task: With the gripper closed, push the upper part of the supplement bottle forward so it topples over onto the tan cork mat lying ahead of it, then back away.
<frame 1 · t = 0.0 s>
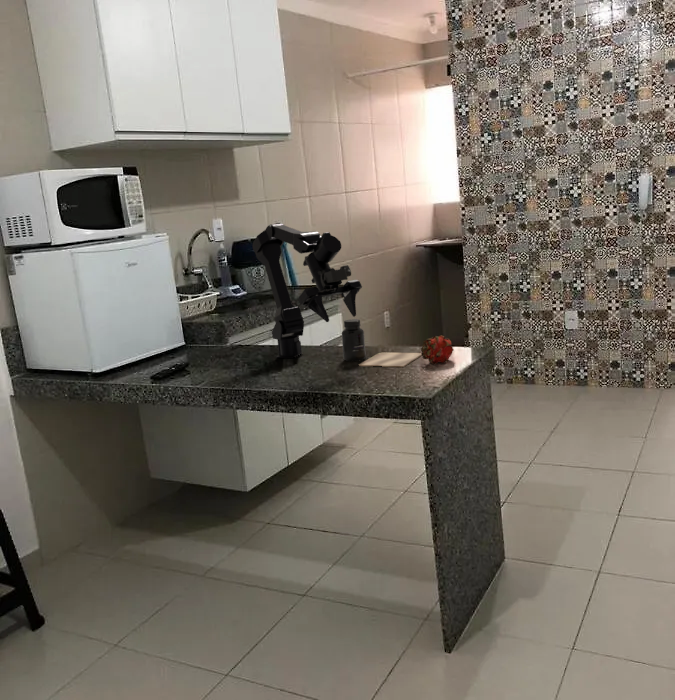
hand: (341, 318, 210), 15 cm above the counter, tool tilted 35°, fingers open, 9 cm apart
dragon fruit: (438, 363, 212), on the counter
supplement bottle: (354, 360, 226), on the counter
cork mat: (391, 360, 220), on the counter
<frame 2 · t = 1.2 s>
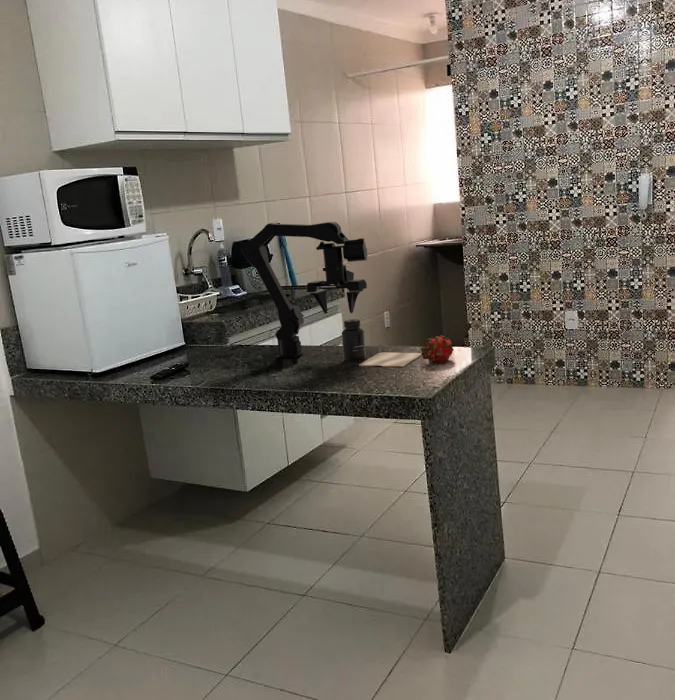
hand: (338, 313, 232), 13 cm above the counter, tool pointing down, fingers open, 9 cm apart
nothing on the counter moved.
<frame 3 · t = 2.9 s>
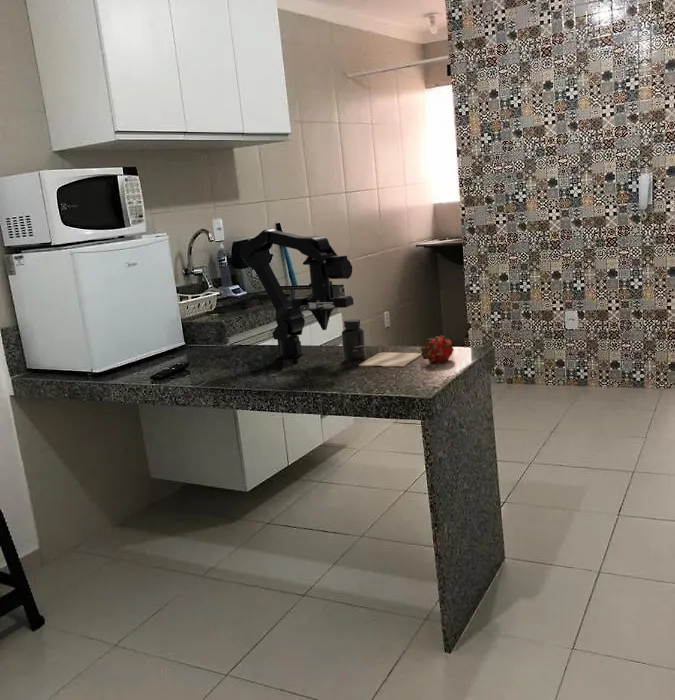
hand: (324, 329, 228), 9 cm above the counter, tool pointing down, fingers closed
nothing on the counter moved.
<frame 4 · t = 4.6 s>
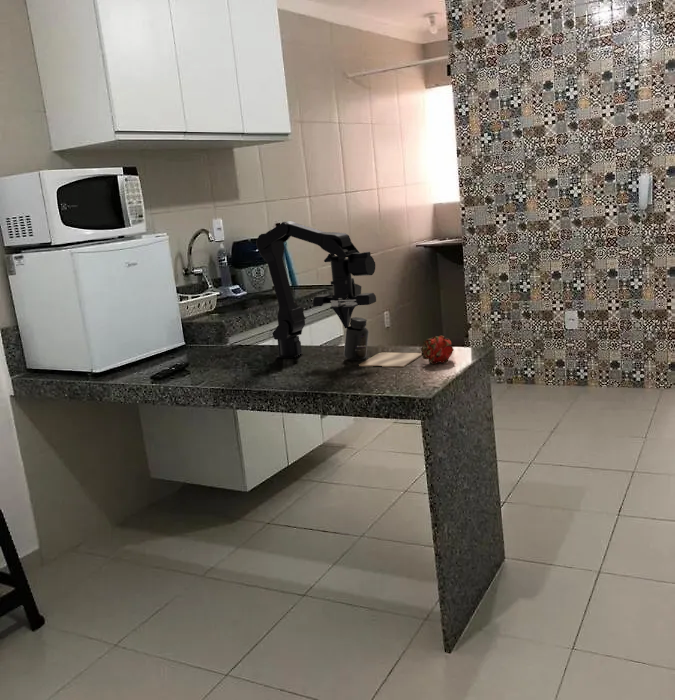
hand: (346, 328, 224), 10 cm above the counter, tool pointing down, fingers closed, pressing on supplement bottle
supplement bottle: (354, 358, 226), on the counter, touching gripper
everything else where it was.
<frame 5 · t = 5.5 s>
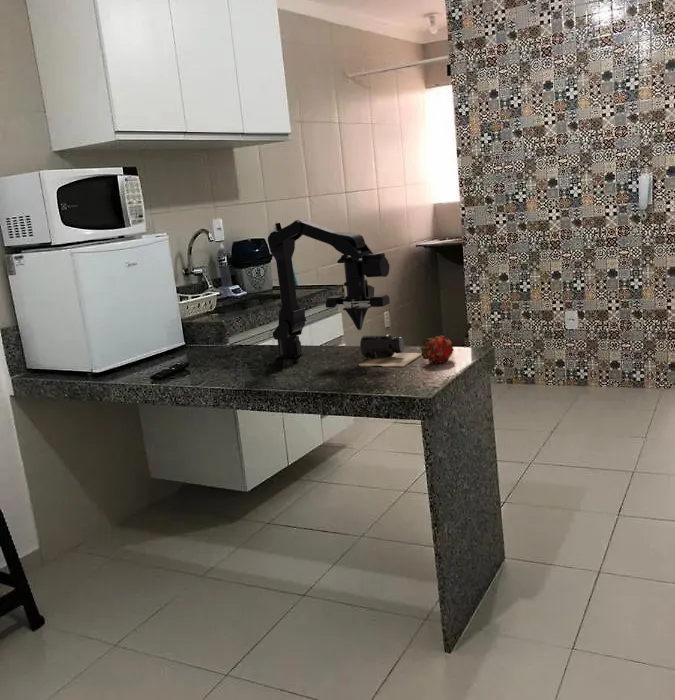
hand: (359, 329, 223), 9 cm above the counter, tool pointing down, fingers closed
supplement bottle: (363, 347, 224), point 4 cm above the counter, touching cork mat
everything else where it was.
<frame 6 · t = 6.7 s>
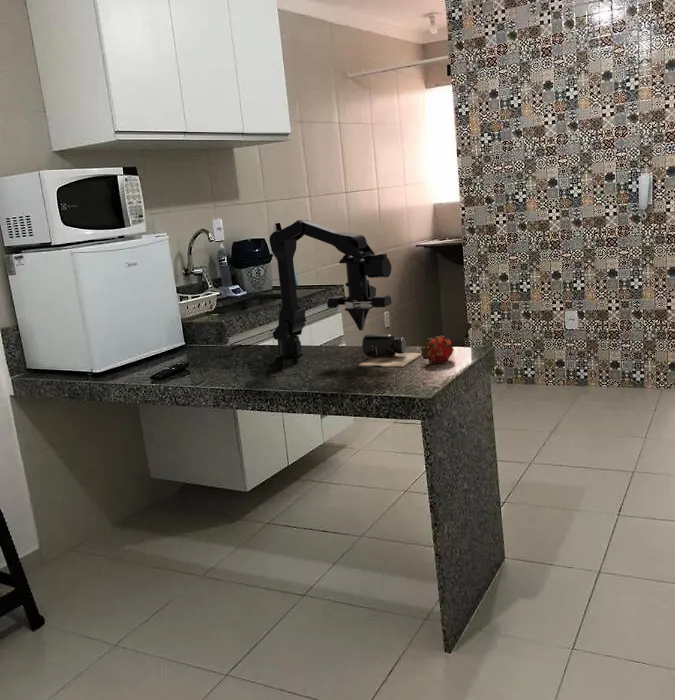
hand: (361, 330, 222), 9 cm above the counter, tool pointing down, fingers closed
supplement bottle: (364, 345, 225), point 4 cm above the counter, touching cork mat
everything else where it was.
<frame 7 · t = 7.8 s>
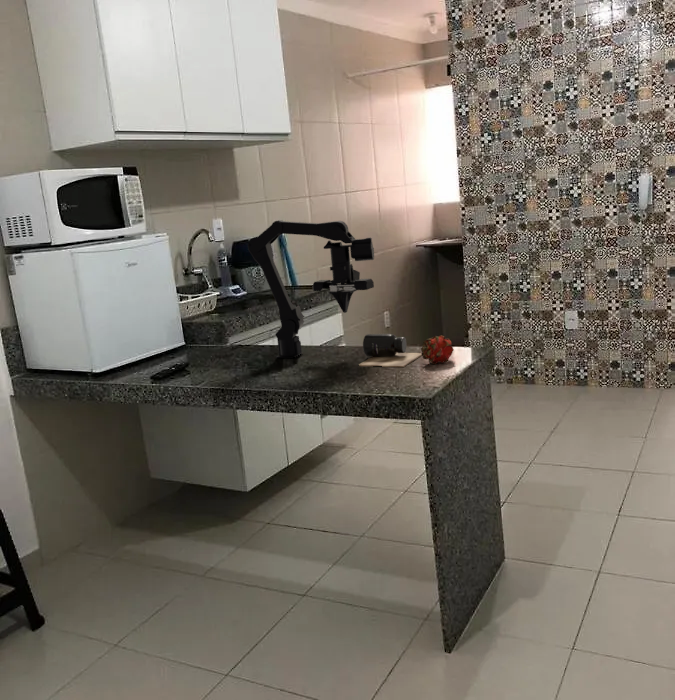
hand: (345, 312, 232), 13 cm above the counter, tool pointing down, fingers closed
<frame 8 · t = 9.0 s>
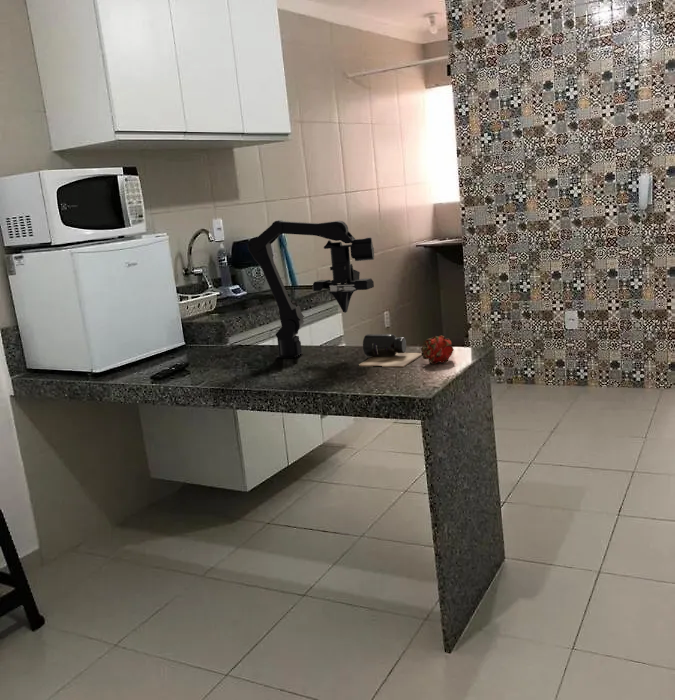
hand: (345, 312, 233), 13 cm above the counter, tool pointing down, fingers closed
nothing on the counter moved.
at the end: supplement bottle tilted 89°; supplement bottle inside the target area (6.8 cm from its centre), point 3.7 cm above the counter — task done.
